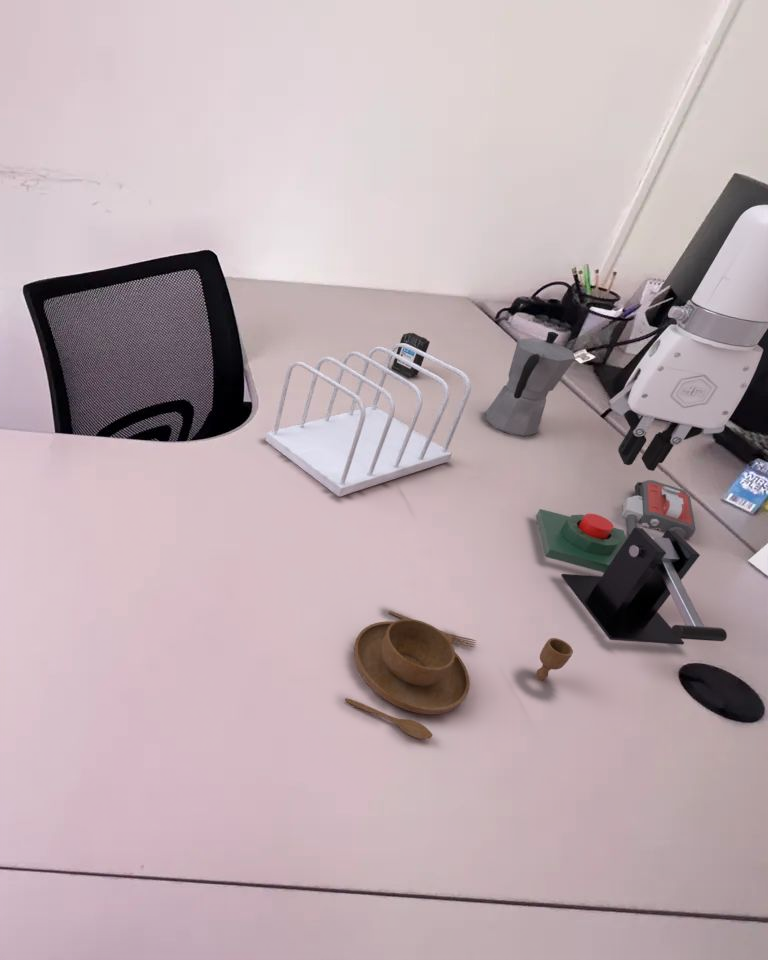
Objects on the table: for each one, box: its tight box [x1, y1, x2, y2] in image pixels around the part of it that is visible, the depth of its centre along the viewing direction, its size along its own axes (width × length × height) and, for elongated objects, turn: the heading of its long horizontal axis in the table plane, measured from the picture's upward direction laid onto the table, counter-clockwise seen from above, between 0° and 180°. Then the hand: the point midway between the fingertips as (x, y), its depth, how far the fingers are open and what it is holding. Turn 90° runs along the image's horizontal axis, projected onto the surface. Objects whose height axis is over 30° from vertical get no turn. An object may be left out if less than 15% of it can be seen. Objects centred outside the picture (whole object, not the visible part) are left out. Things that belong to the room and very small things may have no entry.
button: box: [578, 513, 614, 539], centre depth 92 cm, size 4×4×2 cm
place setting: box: [344, 610, 574, 740], centre depth 70 cm, size 18×20×6 cm
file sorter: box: [265, 342, 472, 497], centre depth 107 cm, size 25×17×16 cm
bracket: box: [560, 527, 701, 645], centre depth 81 cm, size 11×9×12 cm
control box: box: [535, 508, 628, 573], centre depth 93 cm, size 11×10×4 cm
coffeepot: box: [485, 331, 576, 437], centre depth 119 cm, size 15×9×18 cm, turn 137°
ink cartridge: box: [391, 332, 431, 379], centre depth 137 cm, size 5×2×8 cm, turn 34°
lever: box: [650, 536, 728, 642], centre depth 76 cm, size 12×5×2 cm, turn 0°
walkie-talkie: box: [621, 479, 697, 541], centre depth 100 cm, size 9×4×20 cm
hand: (636, 461), depth 86 cm, fingers closed
